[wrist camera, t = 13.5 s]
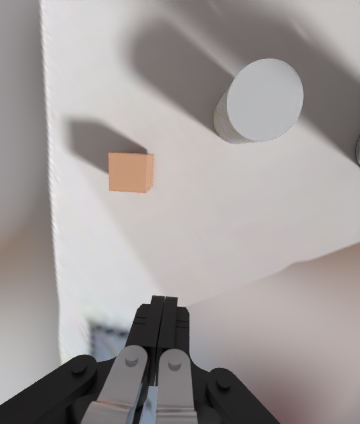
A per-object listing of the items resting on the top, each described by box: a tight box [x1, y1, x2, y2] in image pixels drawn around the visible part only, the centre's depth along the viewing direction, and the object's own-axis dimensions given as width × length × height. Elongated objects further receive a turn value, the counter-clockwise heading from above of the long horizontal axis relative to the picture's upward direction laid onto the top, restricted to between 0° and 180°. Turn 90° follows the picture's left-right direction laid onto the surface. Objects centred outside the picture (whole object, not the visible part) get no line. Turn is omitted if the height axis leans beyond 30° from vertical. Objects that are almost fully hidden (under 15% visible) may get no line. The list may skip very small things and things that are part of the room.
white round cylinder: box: [213, 58, 303, 144], centre depth 30 cm, size 8×8×12 cm
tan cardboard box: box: [108, 152, 153, 193], centre depth 34 cm, size 5×5×7 cm
